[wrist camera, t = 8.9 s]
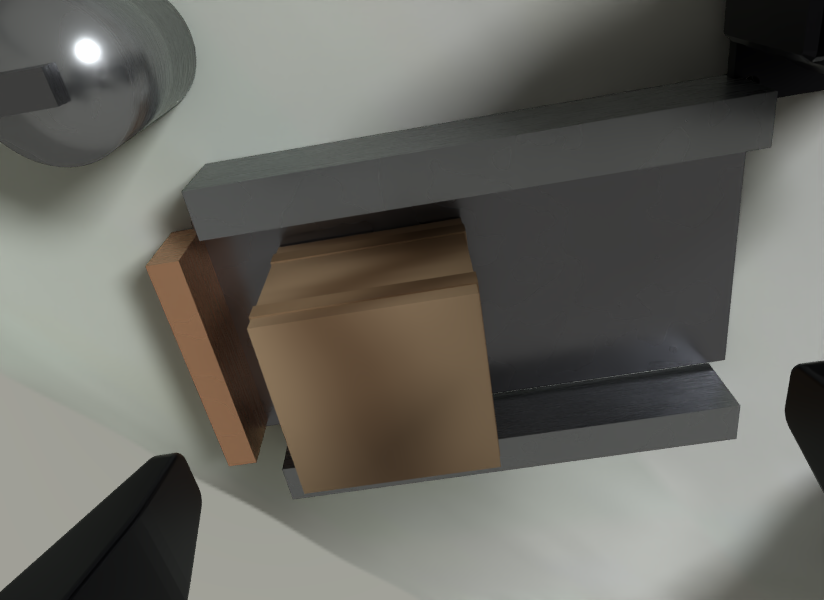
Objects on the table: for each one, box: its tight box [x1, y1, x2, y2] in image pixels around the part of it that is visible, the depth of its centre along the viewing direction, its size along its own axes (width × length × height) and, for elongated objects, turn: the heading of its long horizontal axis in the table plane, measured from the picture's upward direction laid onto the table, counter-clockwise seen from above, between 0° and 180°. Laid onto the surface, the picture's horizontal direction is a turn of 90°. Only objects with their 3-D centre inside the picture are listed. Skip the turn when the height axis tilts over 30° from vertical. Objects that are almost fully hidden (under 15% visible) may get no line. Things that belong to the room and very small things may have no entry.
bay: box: [0, 0, 778, 499], centre depth 18 cm, size 20×17×6 cm
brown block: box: [247, 218, 501, 494], centre depth 20 cm, size 6×6×5 cm
